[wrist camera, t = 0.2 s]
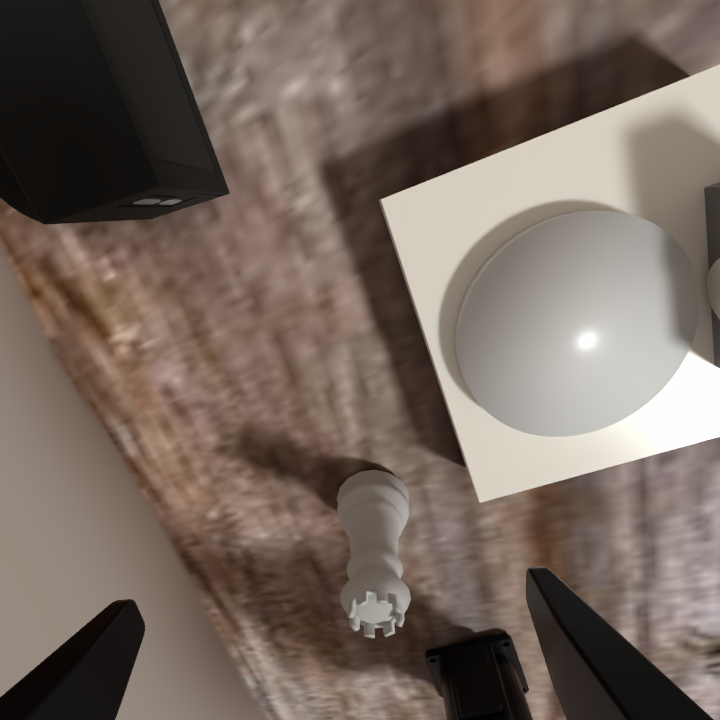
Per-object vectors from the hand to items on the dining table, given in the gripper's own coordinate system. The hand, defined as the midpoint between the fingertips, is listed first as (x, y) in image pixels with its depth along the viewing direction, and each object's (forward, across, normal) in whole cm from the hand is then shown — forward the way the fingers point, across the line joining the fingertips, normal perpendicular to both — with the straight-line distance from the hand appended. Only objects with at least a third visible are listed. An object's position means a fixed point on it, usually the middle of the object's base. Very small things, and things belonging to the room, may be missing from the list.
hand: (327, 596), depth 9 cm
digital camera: (+14, +8, -14) cm, 21 cm away
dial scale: (+14, -11, -2) cm, 18 cm away
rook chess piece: (+14, 0, +8) cm, 16 cm away
